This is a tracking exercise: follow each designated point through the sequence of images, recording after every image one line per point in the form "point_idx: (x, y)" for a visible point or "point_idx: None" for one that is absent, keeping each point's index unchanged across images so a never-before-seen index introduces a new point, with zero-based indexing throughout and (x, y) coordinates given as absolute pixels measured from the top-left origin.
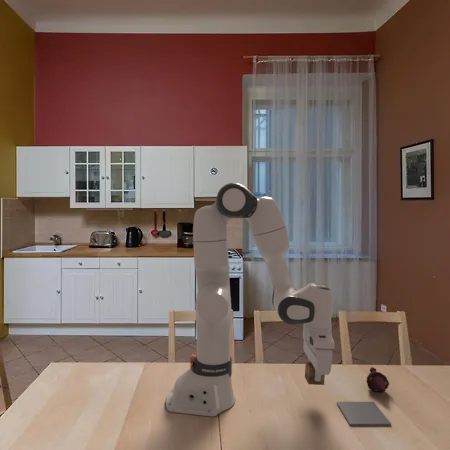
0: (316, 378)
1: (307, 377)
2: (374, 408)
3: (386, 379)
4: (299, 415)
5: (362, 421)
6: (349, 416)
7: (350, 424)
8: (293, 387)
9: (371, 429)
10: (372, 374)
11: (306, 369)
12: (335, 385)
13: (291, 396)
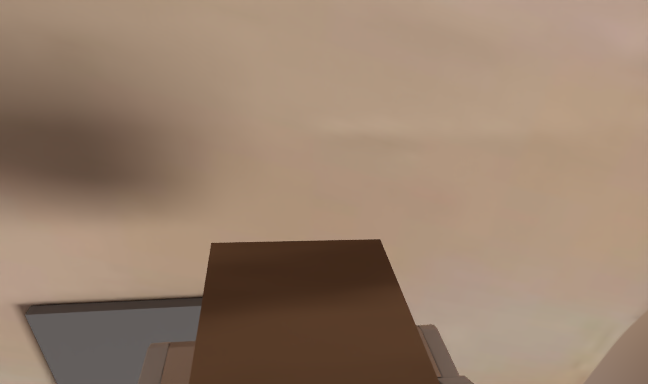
0: (142, 379)
1: (273, 277)
2: None
3: None
4: (81, 40)
5: (68, 362)
6: (107, 325)
7: (27, 313)
8: (488, 105)
9: (28, 371)
10: None
11: (354, 334)
12: (435, 321)
13: (372, 54)
